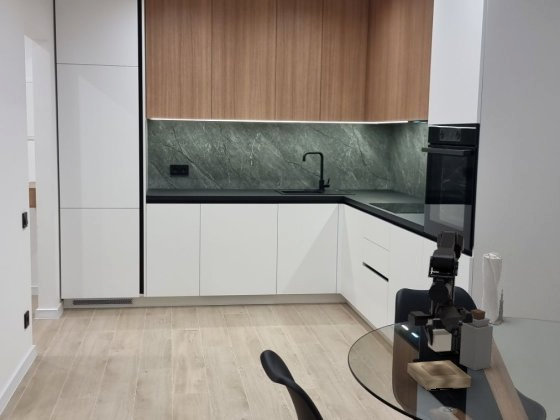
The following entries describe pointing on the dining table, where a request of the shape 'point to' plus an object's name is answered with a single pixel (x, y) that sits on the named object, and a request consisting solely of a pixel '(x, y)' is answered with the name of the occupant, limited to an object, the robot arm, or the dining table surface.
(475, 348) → the perfume bottle
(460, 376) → the oak base
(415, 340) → the dining table surface
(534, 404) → the dining table surface
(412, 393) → the dining table surface
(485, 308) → the skyscraper
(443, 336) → the cream cube
